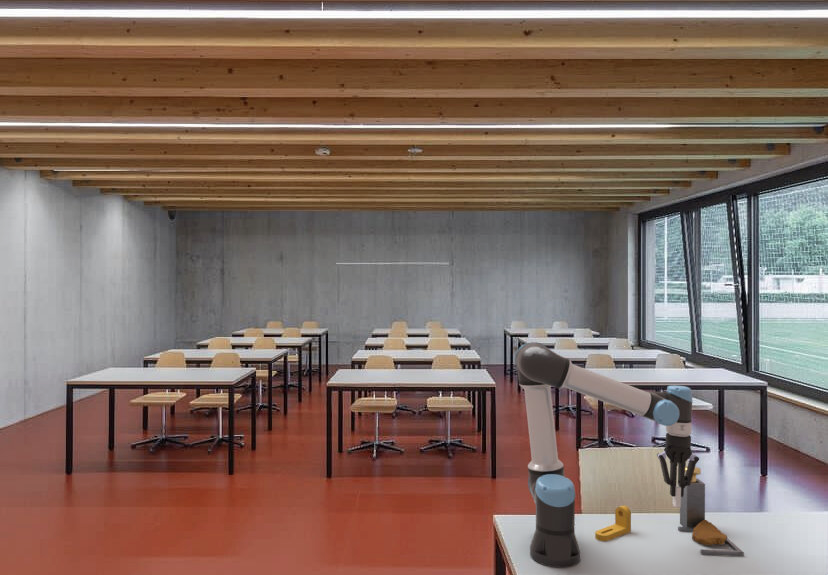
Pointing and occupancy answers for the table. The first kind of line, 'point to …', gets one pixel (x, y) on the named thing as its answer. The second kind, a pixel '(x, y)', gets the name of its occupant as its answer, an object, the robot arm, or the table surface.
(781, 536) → the table surface
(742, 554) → the press
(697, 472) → the pin
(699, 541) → the artifact
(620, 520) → the bracket
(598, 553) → the table surface
